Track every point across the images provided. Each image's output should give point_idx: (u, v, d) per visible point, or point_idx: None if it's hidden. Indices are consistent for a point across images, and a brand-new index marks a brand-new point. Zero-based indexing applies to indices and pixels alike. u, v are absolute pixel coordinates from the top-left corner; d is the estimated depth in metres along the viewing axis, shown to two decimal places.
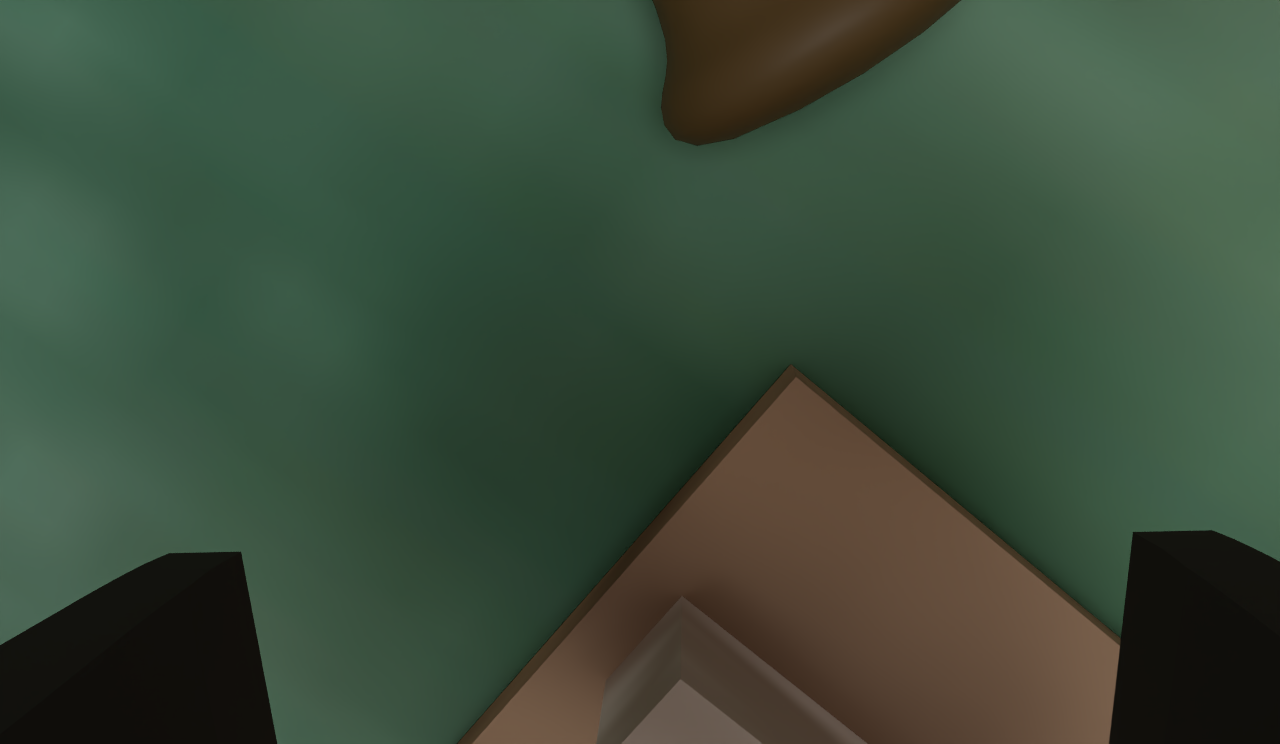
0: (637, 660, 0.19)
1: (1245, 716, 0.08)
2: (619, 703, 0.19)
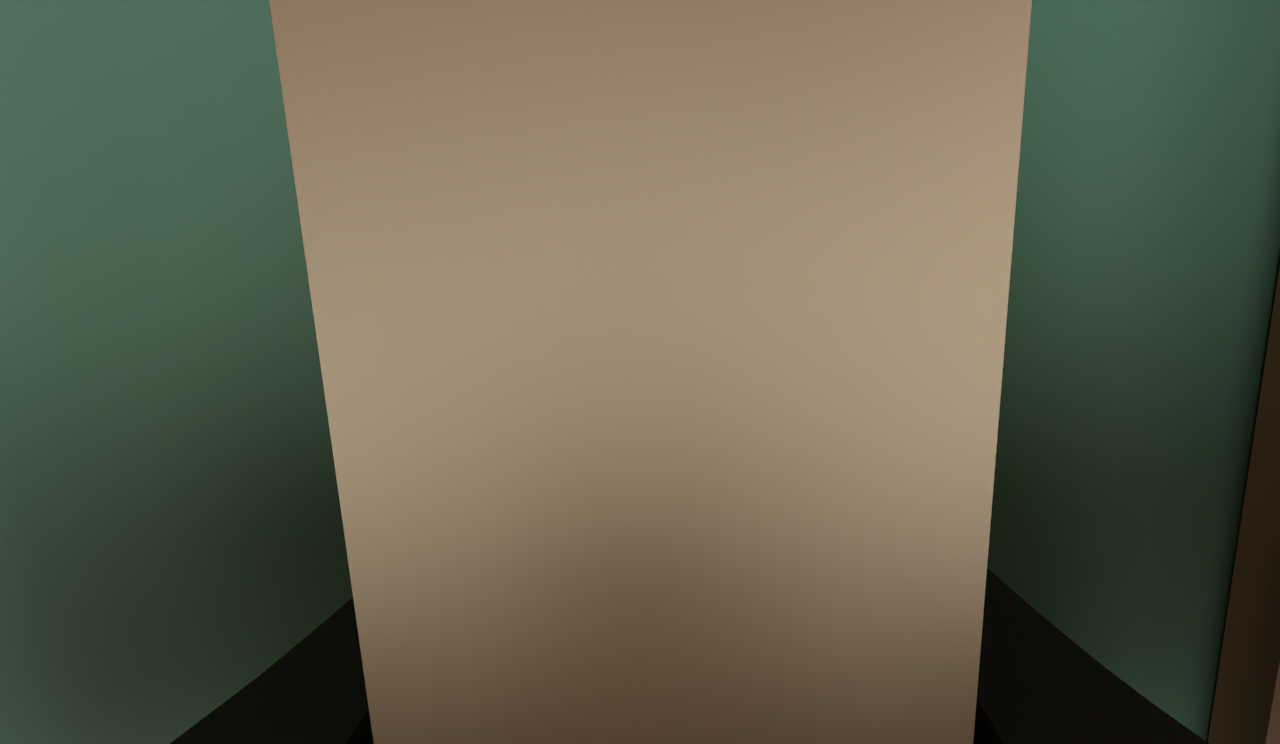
0: None
1: None
2: None
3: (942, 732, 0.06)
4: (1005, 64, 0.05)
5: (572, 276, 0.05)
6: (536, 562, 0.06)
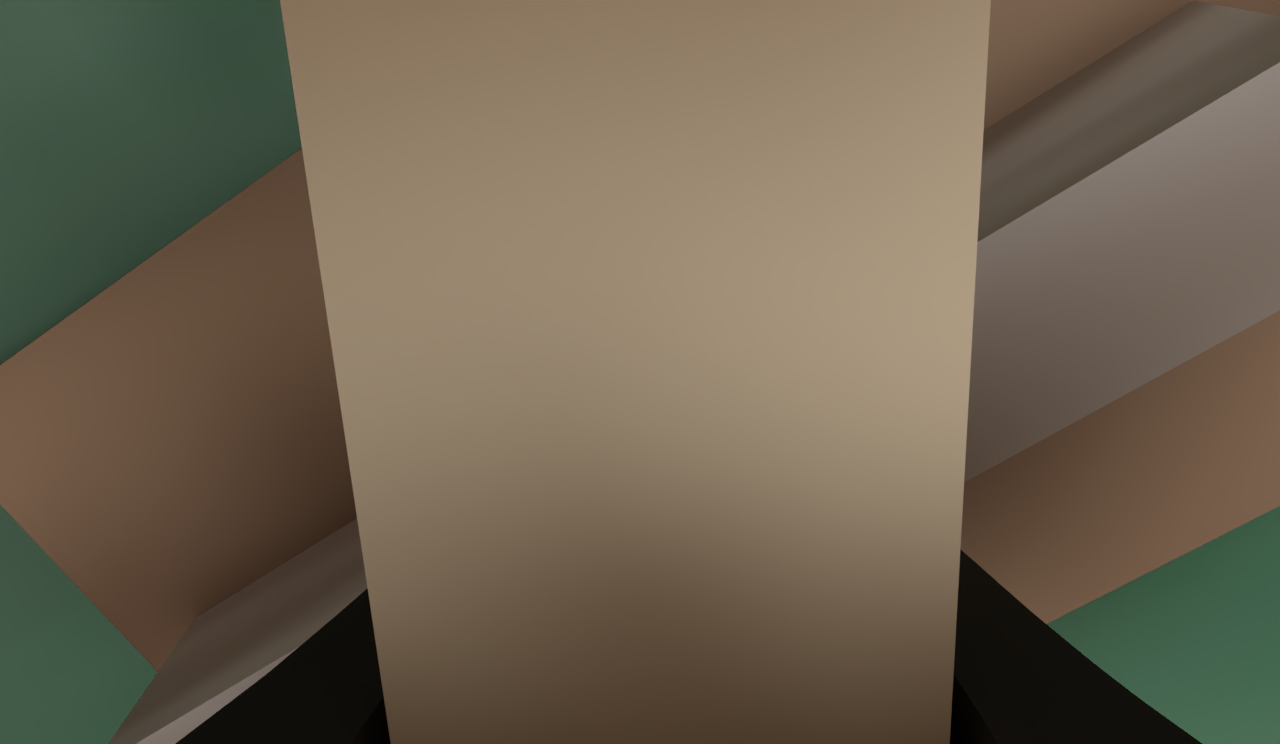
0: None
1: None
2: None
3: (924, 671, 0.06)
4: (970, 29, 0.05)
5: (567, 237, 0.05)
6: (535, 510, 0.06)
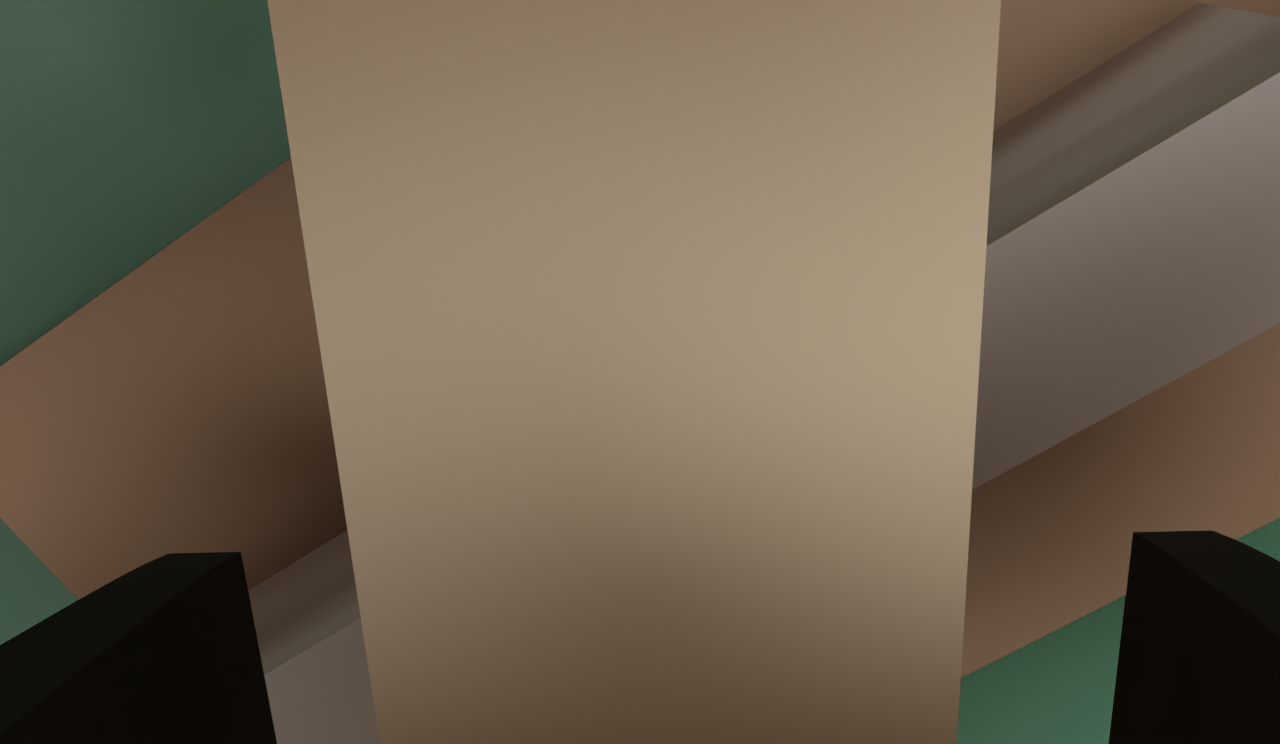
0: None
1: (1244, 716, 0.08)
2: None
3: (929, 692, 0.06)
4: (980, 36, 0.05)
5: (563, 247, 0.05)
6: (530, 528, 0.06)
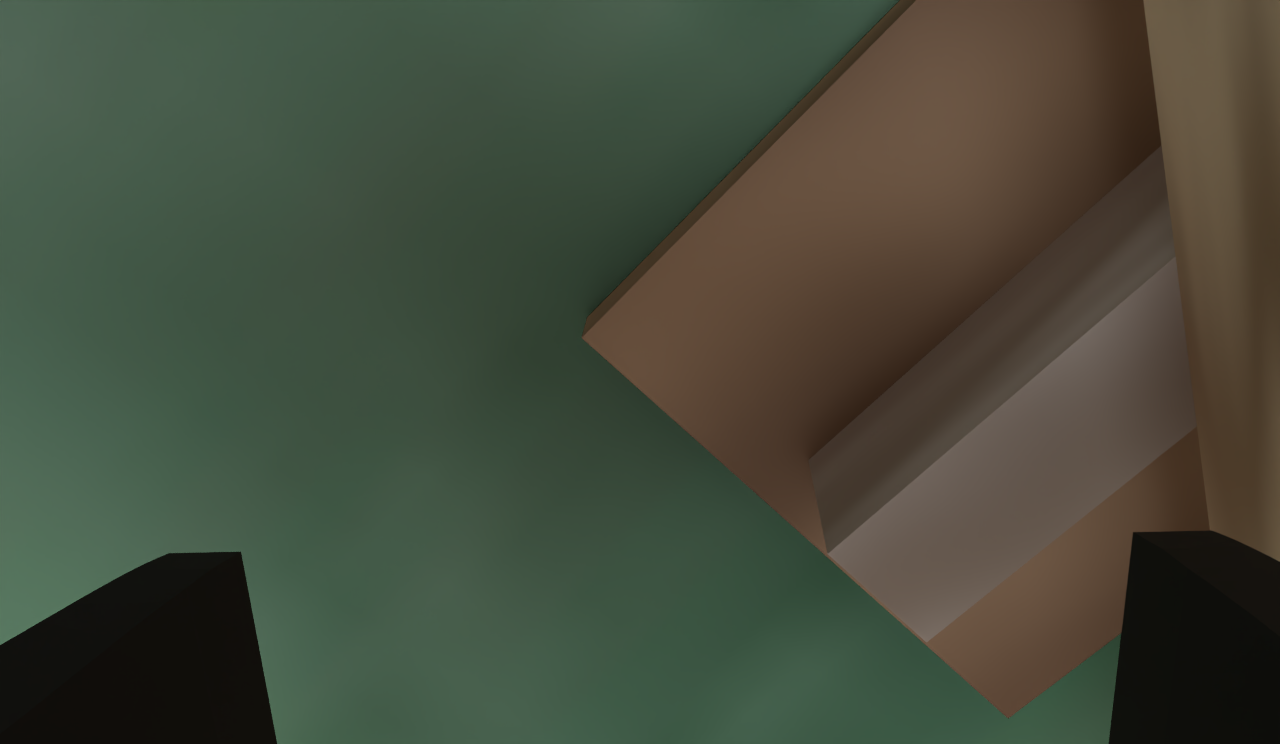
0: None
1: (1244, 716, 0.08)
2: None
3: None
4: None
5: None
6: None
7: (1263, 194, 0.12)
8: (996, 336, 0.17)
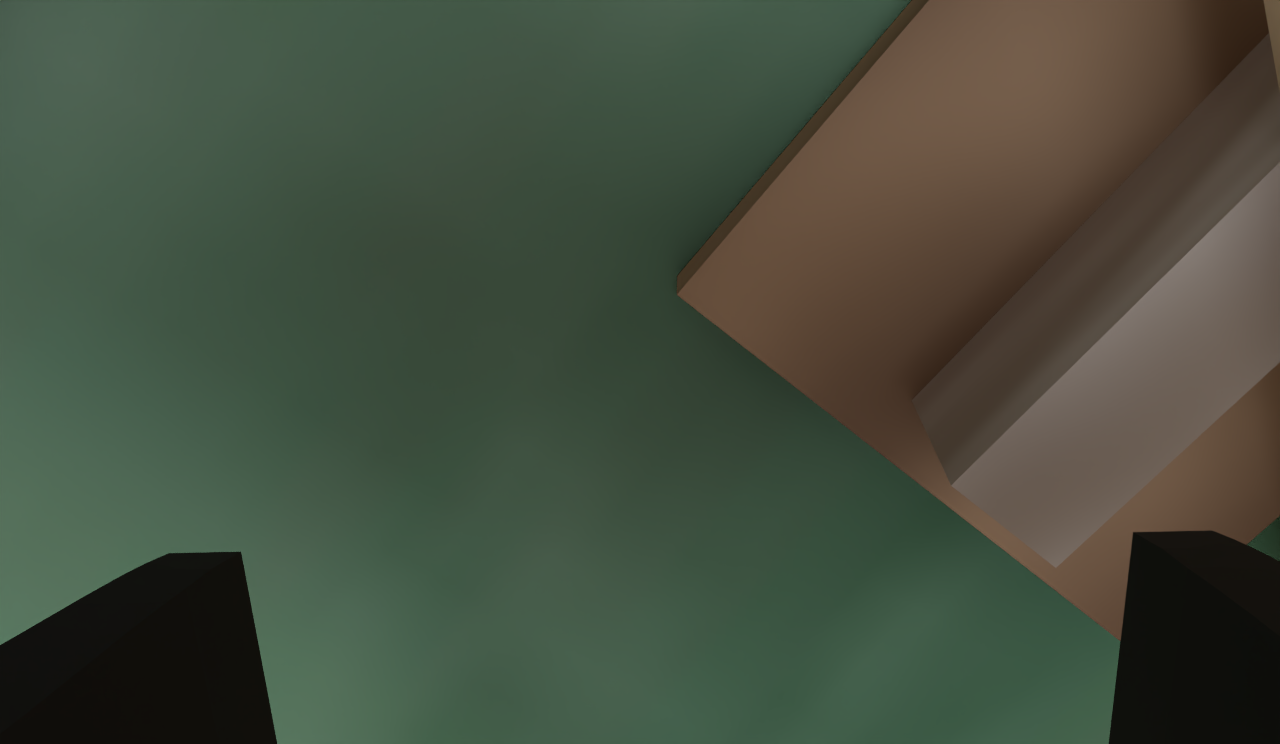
0: None
1: (1245, 716, 0.08)
2: None
3: None
4: None
5: None
6: None
7: None
8: (1101, 255, 0.17)
